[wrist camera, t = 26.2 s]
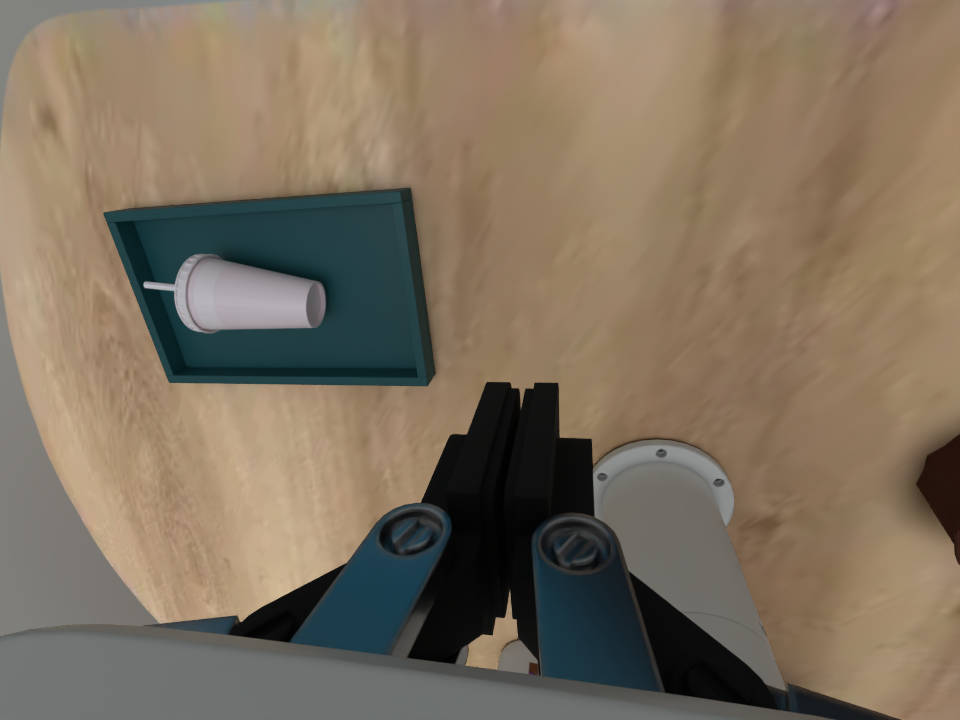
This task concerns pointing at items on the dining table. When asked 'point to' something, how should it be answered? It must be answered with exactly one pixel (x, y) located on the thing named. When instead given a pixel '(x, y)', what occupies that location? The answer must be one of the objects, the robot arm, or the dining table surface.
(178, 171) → the dining table surface
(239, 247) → the tray
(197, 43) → the dining table surface
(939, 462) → the muffin
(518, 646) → the milk bottle
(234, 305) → the smoothie
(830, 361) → the dining table surface
